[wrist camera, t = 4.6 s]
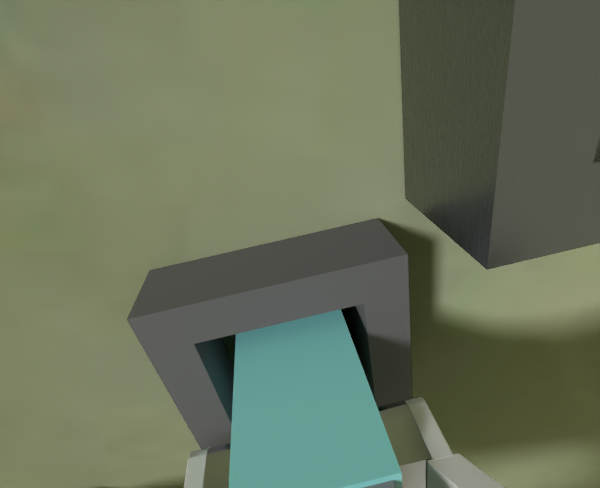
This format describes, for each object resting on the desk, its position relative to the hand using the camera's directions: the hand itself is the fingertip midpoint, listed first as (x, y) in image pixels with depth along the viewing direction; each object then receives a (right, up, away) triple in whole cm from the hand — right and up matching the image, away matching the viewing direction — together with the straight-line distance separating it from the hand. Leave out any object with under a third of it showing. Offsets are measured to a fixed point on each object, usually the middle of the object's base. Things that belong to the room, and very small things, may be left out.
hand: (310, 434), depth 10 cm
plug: (-1, +2, +4) cm, 4 cm away
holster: (-1, +2, +4) cm, 4 cm away
